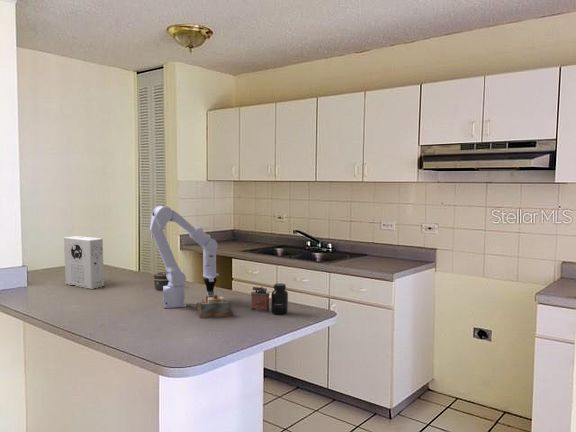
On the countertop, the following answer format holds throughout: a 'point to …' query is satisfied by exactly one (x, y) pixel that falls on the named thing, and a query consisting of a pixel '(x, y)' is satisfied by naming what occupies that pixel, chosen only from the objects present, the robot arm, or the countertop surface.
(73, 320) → the countertop surface
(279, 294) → the supplement bottle
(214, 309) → the press bed
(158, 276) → the jar
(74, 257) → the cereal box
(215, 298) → the block
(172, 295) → the robot arm
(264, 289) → the lighter
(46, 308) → the countertop surface
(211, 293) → the block
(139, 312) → the countertop surface
